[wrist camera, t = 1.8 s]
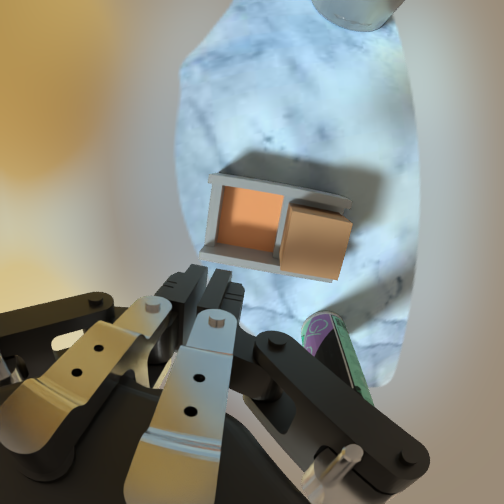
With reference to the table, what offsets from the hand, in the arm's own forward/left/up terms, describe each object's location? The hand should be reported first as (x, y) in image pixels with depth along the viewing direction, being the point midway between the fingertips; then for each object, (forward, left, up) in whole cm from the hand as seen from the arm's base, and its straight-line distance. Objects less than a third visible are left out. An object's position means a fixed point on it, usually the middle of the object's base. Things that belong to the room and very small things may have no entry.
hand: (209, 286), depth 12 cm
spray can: (+12, +12, -17) cm, 24 cm away
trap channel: (0, +4, -17) cm, 17 cm away
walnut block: (0, +6, -15) cm, 16 cm away
